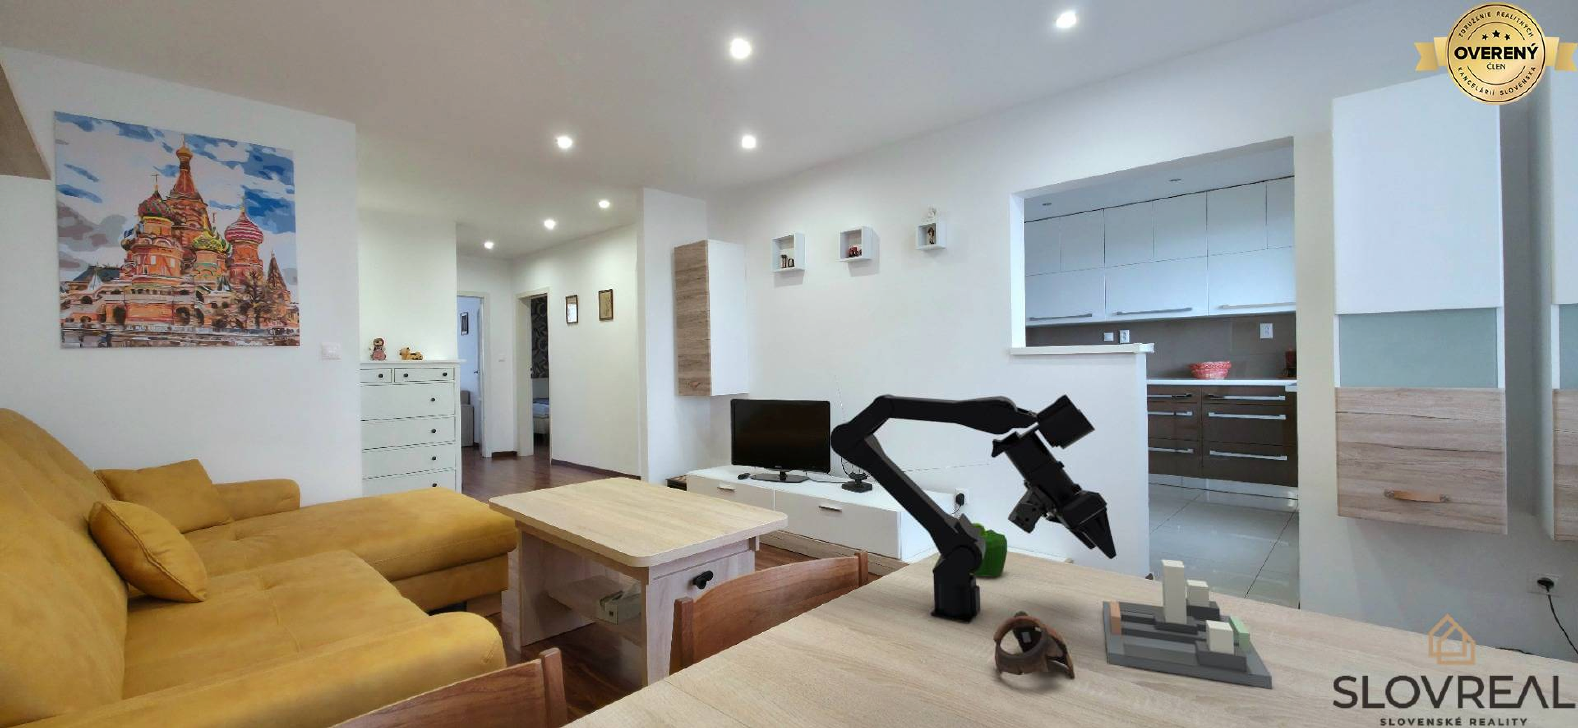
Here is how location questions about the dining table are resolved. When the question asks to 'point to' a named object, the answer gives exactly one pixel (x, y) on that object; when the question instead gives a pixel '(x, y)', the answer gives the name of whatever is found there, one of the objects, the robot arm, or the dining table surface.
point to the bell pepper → (992, 553)
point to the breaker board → (1184, 641)
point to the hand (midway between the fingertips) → (1102, 552)
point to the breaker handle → (1174, 601)
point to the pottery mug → (1030, 646)
